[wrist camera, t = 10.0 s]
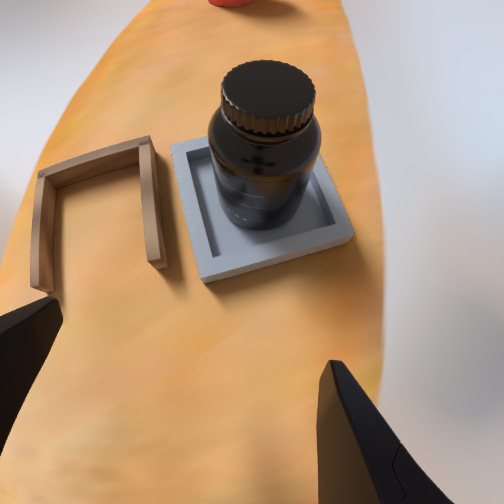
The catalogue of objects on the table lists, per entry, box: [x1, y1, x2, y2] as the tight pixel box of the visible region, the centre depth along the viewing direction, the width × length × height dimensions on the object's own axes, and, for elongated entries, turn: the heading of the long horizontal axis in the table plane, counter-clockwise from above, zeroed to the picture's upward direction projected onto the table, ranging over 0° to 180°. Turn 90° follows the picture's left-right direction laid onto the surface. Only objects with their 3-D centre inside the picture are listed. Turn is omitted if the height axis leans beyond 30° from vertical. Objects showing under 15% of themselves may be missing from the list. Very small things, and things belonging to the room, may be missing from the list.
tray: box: [170, 136, 355, 284], centre depth 24 cm, size 12×12×2 cm
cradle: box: [30, 135, 168, 293], centre depth 23 cm, size 12×12×2 cm
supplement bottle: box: [208, 60, 321, 231], centre depth 19 cm, size 7×7×12 cm
